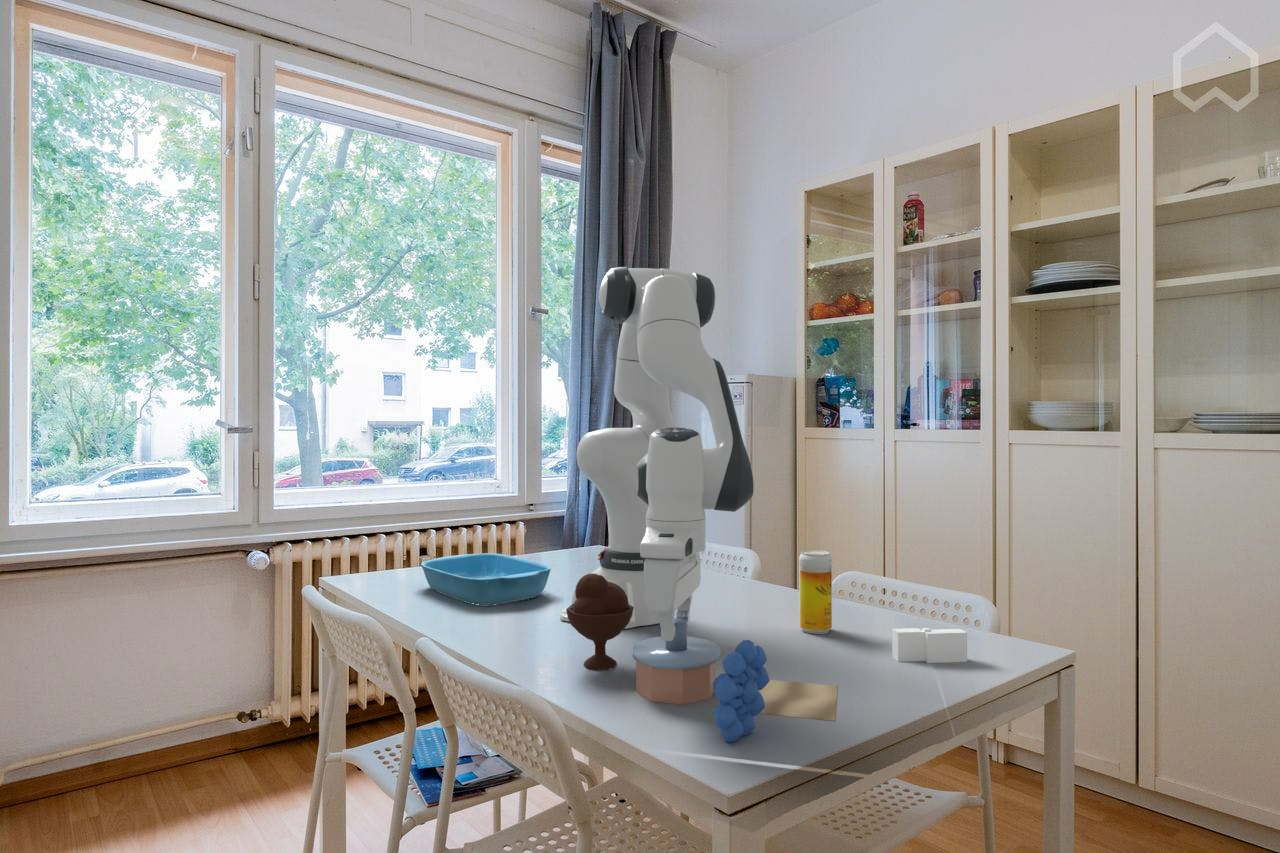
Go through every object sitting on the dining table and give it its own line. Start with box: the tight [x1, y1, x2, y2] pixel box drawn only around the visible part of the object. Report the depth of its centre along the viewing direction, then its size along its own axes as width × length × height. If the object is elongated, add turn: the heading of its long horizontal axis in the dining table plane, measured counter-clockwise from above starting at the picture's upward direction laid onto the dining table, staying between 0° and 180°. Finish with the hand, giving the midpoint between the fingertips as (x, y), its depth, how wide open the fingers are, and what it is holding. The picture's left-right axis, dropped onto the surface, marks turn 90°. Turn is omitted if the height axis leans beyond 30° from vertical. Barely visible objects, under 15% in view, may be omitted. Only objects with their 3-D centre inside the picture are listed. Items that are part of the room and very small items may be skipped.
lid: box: [632, 617, 721, 669], centre depth 113 cm, size 13×13×5 cm
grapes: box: [712, 639, 771, 744], centre depth 97 cm, size 12×7×12 cm, turn 143°
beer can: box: [798, 549, 833, 635], centre depth 146 cm, size 6×6×15 cm
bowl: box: [635, 660, 717, 705], centre depth 113 cm, size 11×11×6 cm
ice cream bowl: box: [566, 573, 634, 671], centre depth 126 cm, size 11×11×15 cm
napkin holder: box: [891, 627, 968, 664], centre depth 129 cm, size 15×11×6 cm
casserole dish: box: [420, 552, 552, 606], centre depth 181 cm, size 37×22×7 cm, turn 40°
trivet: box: [758, 679, 839, 722], centre depth 109 cm, size 14×14×1 cm
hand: (676, 630), depth 113 cm, fingers open, 8 cm apart
